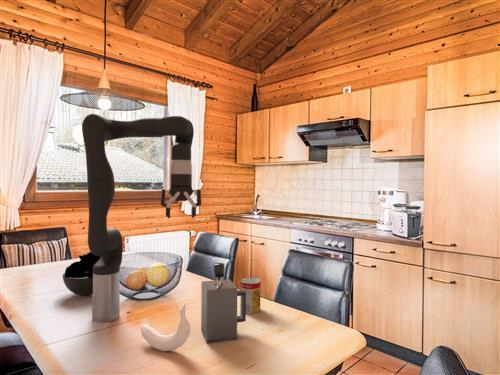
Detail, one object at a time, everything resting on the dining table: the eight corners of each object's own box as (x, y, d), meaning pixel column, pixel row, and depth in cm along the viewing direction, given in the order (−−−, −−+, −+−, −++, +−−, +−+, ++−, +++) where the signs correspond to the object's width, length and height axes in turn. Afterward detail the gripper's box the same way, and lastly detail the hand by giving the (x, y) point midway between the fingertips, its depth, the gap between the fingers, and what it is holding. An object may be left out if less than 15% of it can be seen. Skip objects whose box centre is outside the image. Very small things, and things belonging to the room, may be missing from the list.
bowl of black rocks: (87, 305, 143) (86, 259, 143) (51, 298, 151) (51, 255, 150) (121, 291, 162) (121, 250, 161) (89, 285, 169) (88, 247, 169)
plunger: (214, 320, 115) (215, 265, 115) (212, 316, 118) (213, 263, 118) (224, 318, 116) (225, 264, 116) (222, 314, 119) (222, 262, 119)
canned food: (262, 308, 142) (263, 278, 142) (256, 315, 135) (257, 284, 134) (244, 305, 145) (244, 276, 144) (237, 312, 137) (237, 282, 137)
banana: (144, 339, 114) (144, 294, 113) (194, 351, 106) (194, 303, 106) (133, 346, 109) (133, 299, 109) (185, 359, 102) (185, 309, 101)
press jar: (206, 343, 111) (207, 290, 111) (201, 330, 121) (201, 281, 120) (249, 337, 115) (249, 286, 115) (240, 325, 125) (240, 278, 125)
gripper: (161, 172, 120) (161, 219, 121) (202, 173, 125) (202, 218, 125) (160, 172, 127) (160, 217, 128) (199, 173, 132) (198, 216, 132)
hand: (181, 217), depth 126 cm, fingers open, 8 cm apart
